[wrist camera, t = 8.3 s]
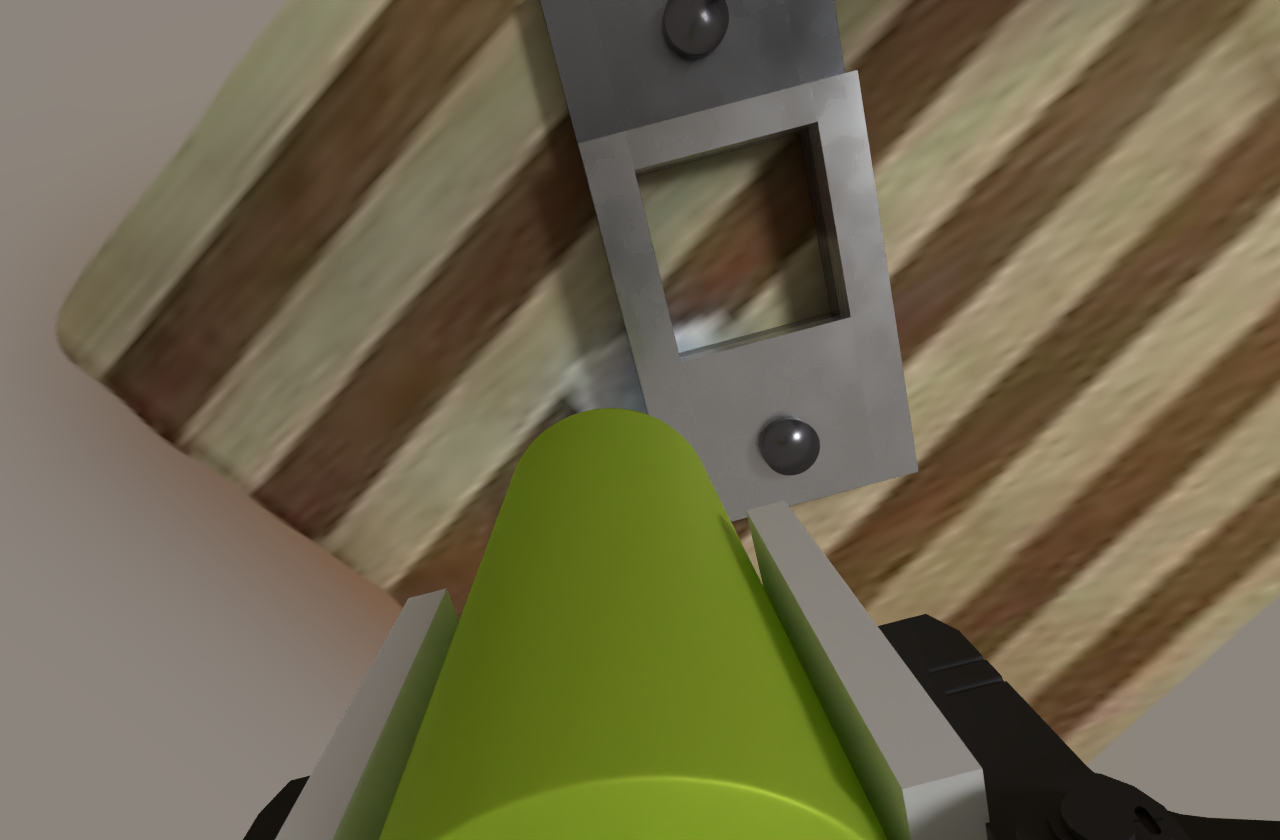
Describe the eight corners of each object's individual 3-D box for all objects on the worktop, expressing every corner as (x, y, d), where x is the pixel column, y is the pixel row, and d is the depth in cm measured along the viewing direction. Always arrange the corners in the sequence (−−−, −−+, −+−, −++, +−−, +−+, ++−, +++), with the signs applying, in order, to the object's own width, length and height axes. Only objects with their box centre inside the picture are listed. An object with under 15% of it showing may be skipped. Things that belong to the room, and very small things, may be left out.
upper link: (579, 152, 33) (577, 140, 29) (835, 85, 33) (864, 65, 29) (673, 515, 38) (682, 541, 34) (895, 456, 38) (925, 476, 34)
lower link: (537, -10, 31) (532, -31, 29) (808, -81, 31) (824, -106, 29) (642, 394, 36) (645, 403, 34) (875, 333, 36) (892, 337, 34)
